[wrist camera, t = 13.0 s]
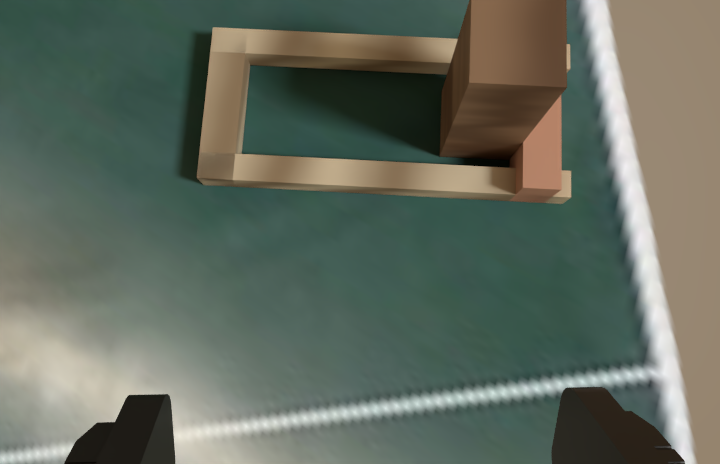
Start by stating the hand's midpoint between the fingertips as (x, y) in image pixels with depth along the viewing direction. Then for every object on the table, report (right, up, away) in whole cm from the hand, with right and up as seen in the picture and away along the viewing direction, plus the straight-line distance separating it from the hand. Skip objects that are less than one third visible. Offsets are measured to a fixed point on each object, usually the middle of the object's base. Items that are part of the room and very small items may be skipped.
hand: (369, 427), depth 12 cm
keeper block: (+6, +10, +23) cm, 26 cm away
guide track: (+1, +11, +23) cm, 25 cm away
